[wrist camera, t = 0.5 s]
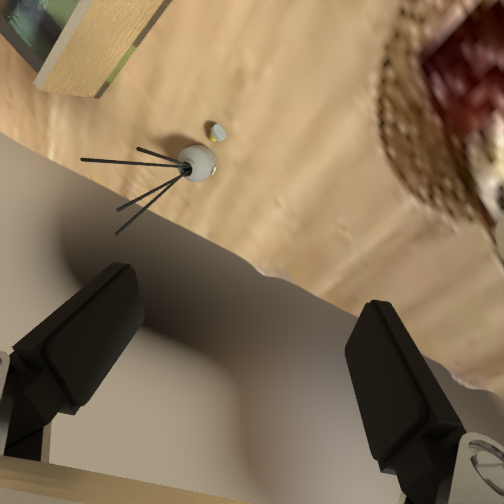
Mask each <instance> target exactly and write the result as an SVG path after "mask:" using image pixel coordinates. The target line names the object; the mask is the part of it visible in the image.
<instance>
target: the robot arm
mask: <svg viewBox="0 0 504 504" xmlns="http://www.w3.org/2000/svg"><path fill="white" fill-rule="evenodd" d="M144 317H145V315H144V310H143V305H142V301H141V296H140V291H139V287H138V282H137V278H136V273H135V270H134V269H133V268H132V267H131V266H130V265H129V264H124V263H117V262H114V263H112V264H110V265H109V266H108V267H107V268H106V269H104V270H103V271H102V272H101V273H100V274H98V275H97V276H96V277H95V278H94V279H93V280H91V281H90V282H89V283H88V284H87V285H85V286H84V287H83V288H82V289H81V290H79V291H78V292H77V293H76V294H75V295H74V296H72V297H71V298H70V299H69V300H67V301H66V302H65V303H64V304H63V305H61V306H60V307H59V308H58V309H57V310H56V311H54V312H53V313H52V314H51V315H50V316H48V317H47V318H46V319H45V320H44V321H43V322H41V323H40V324H39V325H38V326H36V327H35V328H34V329H33V330H32V331H31V332H29V333H28V334H27V335H26V336H25V337H23V338H22V339H21V340H20V341H19V342H17V343H16V344H15V345H14V346H12V348H13V349H14V352H12V353H11V354H10V355H8V354H7V353H6V352H2V351H0V504H253V503H248V502H243V501H238V500H233V499H228V498H223V497H217V496H213V495H208V494H202V493H198V492H193V491H188V490H183V489H178V488H173V487H167V486H163V485H158V484H153V483H147V482H142V481H138V480H132V479H127V478H122V477H117V476H112V475H106V474H101V473H96V472H90V471H86V470H81V469H76V468H70V467H65V466H60V465H55V464H50V463H49V452H50V438H51V423H52V419H53V418H54V417H55V415H56V414H57V413H58V412H59V413H64V414H70V415H75V414H76V412H77V411H78V410H79V408H80V407H81V406H84V405H85V404H86V403H87V402H88V401H89V400H90V398H91V397H92V396H93V394H94V393H95V391H96V390H97V388H98V387H99V385H100V384H101V382H102V381H103V379H104V378H105V377H106V375H107V374H108V372H109V371H110V369H111V368H112V366H113V365H114V364H115V362H116V361H117V359H118V358H119V356H120V355H121V354H122V352H123V351H124V349H125V348H126V346H127V345H128V343H129V342H130V340H131V339H132V337H133V336H134V334H135V333H136V332H137V330H138V329H139V327H140V326H141V325H142V323H143V321H144ZM345 357H346V361H347V365H348V368H349V372H350V376H351V380H352V384H353V387H354V391H355V395H356V399H357V402H358V406H359V410H360V413H361V417H362V421H363V425H364V429H365V432H366V436H367V439H368V444H369V448H370V451H371V454H372V456H373V458H374V459H375V460H377V461H378V464H379V468H380V471H381V473H388V474H393V475H397V478H398V481H399V484H400V487H401V493H400V497H399V499H398V502H397V504H504V448H503V447H502V446H501V445H500V444H498V443H497V442H495V441H494V440H492V439H490V438H488V437H486V436H484V435H481V434H478V433H470V432H469V433H467V432H466V430H465V429H464V427H463V425H462V423H461V421H460V419H459V417H458V416H457V414H456V412H455V410H454V409H453V407H452V406H451V404H450V402H449V400H448V399H447V397H446V395H445V394H444V392H443V390H442V389H441V387H440V385H439V384H438V382H437V380H436V378H435V377H434V375H433V373H432V372H431V370H430V368H429V367H428V365H427V363H426V362H425V360H424V358H423V357H422V355H421V353H420V351H419V350H418V348H417V346H416V345H415V343H414V341H413V340H412V338H411V336H410V335H409V333H408V331H407V330H406V328H405V326H404V324H403V323H402V321H401V319H400V318H399V316H398V314H397V313H396V311H395V309H394V308H393V306H392V304H391V303H390V302H386V301H379V300H372V301H371V302H370V303H366V304H365V306H364V308H363V310H362V312H361V314H360V317H359V319H358V321H357V323H356V325H355V327H354V329H353V331H352V334H351V336H350V338H349V340H348V342H347V344H346V346H345Z"/></svg>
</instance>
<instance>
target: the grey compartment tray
mask: <svg viewBox="0 0 504 504" xmlns="http://www.w3.org/2000/svg"><path fill="white" fill-rule="evenodd" d="M171 1H172V0H0V33H1V34H2V35H3V36H4V37H5V38H6V40H7V41H8V42H9V43H10V44H11V45H12V46H13V47H14V48H15V49H16V50H17V51H18V53H19V54H20V55H21V56H22V57H23V58H24V59H25V60H26V61H27V62H28V63H29V65H30V66H31V67H32V68H33V69H34V70H35V71H36V72H37V73H38V75H37V77H36V78H35V80H34V82H33V84H34V85H35V87H36V88H37V89H38V90H39V91H45V92H52V93H60V94H68V95H75V96H83V97H91V98H98V99H99V98H100V97H101V95H102V94H103V93H104V91H105V90H106V89H107V87H108V86H109V85H110V83H111V82H112V81H113V79H114V78H115V76H116V75H117V74H118V72H119V71H120V70H121V68H122V67H123V66H124V64H125V63H126V62H127V60H128V59H129V58H130V56H131V55H132V53H133V52H134V51H135V49H136V48H137V47H138V45H139V44H140V43H141V41H142V40H143V39H144V37H145V36H146V35H147V33H148V32H149V30H150V29H151V28H152V26H153V25H154V24H155V22H156V21H157V20H158V18H159V17H160V16H161V14H162V13H163V12H164V10H165V9H166V7H167V6H168V5H169V3H170V2H171Z"/></svg>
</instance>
